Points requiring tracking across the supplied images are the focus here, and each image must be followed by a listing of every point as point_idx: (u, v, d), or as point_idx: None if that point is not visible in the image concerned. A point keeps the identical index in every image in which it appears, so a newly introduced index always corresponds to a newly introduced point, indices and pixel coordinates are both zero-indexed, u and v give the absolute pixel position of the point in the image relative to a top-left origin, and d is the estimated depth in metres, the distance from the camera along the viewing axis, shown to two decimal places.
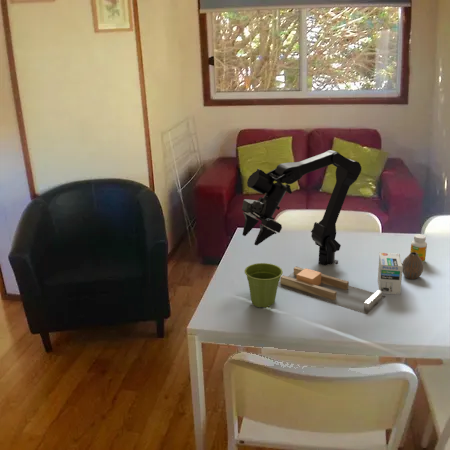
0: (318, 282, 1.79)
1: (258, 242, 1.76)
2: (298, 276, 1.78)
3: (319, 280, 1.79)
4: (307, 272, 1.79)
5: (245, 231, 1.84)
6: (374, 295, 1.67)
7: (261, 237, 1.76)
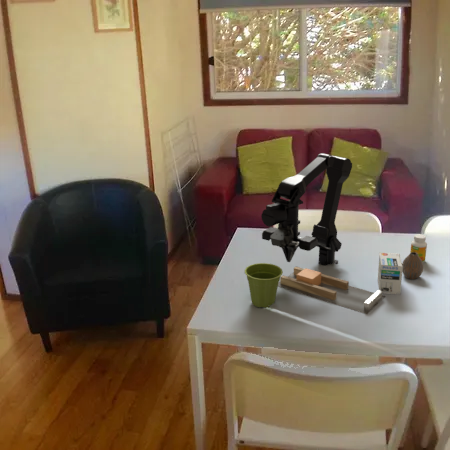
0: (318, 282, 1.79)
1: (291, 258, 1.82)
2: (298, 276, 1.78)
3: (319, 280, 1.79)
4: (307, 272, 1.79)
5: None
6: (374, 295, 1.67)
7: (291, 254, 1.81)
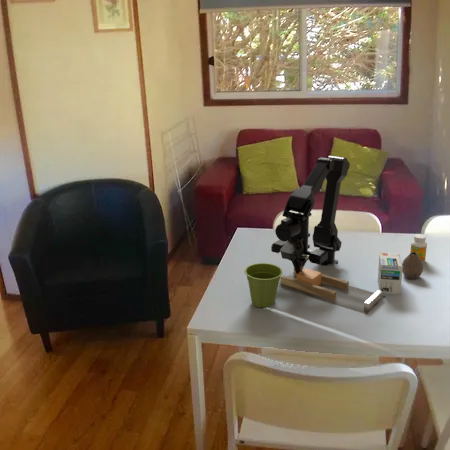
0: (318, 282, 1.79)
1: (300, 271, 1.81)
2: (298, 276, 1.78)
3: (319, 280, 1.79)
4: (307, 273, 1.79)
5: None
6: (374, 295, 1.67)
7: (301, 267, 1.80)
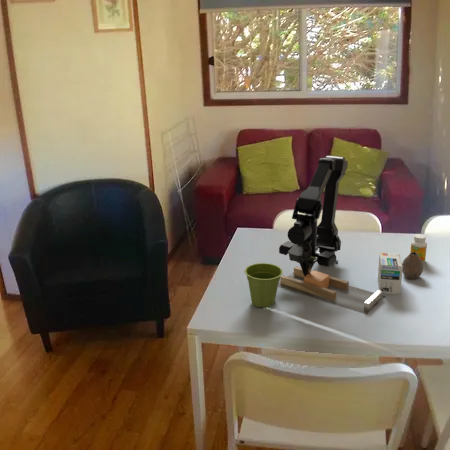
0: (326, 284, 1.77)
1: (308, 273, 1.79)
2: (306, 279, 1.76)
3: (327, 282, 1.77)
4: (315, 275, 1.77)
5: None
6: (374, 295, 1.67)
7: (309, 269, 1.78)
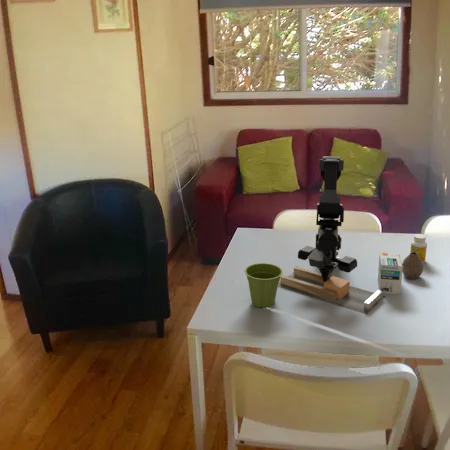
0: (346, 291, 1.73)
1: (328, 279, 1.75)
2: (325, 285, 1.72)
3: (347, 289, 1.73)
4: (334, 281, 1.73)
5: None
6: (374, 295, 1.67)
7: (328, 275, 1.74)
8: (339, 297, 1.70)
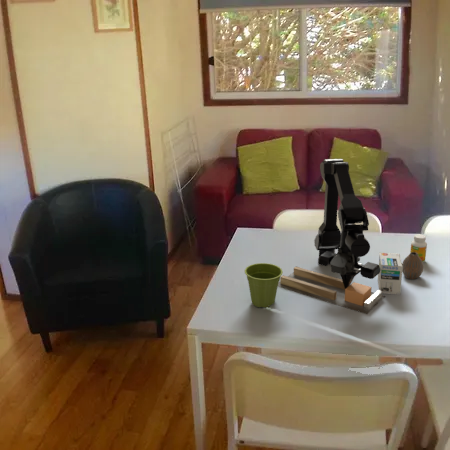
0: (368, 297, 1.68)
1: (349, 285, 1.70)
2: (347, 291, 1.68)
3: (369, 295, 1.69)
4: (356, 287, 1.69)
5: None
6: (374, 295, 1.67)
7: (350, 281, 1.69)
8: (361, 304, 1.66)
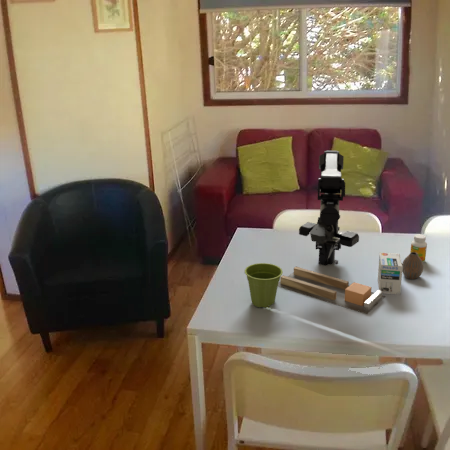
0: (368, 297, 1.68)
1: (329, 255, 1.74)
2: (347, 291, 1.68)
3: (369, 295, 1.69)
4: (356, 287, 1.69)
5: None
6: (374, 295, 1.67)
7: (330, 250, 1.73)
8: (361, 304, 1.66)
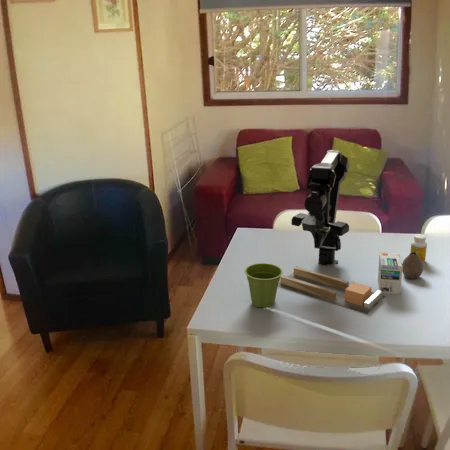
0: (368, 297, 1.68)
1: (321, 244, 1.80)
2: (347, 291, 1.68)
3: (369, 295, 1.69)
4: (356, 287, 1.69)
5: None
6: (374, 295, 1.67)
7: (321, 240, 1.79)
8: (361, 304, 1.66)
